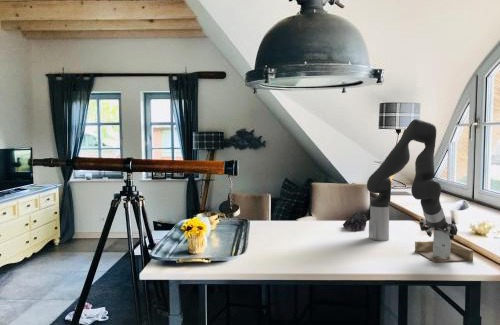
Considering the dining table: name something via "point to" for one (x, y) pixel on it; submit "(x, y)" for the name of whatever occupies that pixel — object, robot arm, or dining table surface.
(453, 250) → the open cardboard box
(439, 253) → the skincare box
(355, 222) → the black rock
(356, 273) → the dining table surface
